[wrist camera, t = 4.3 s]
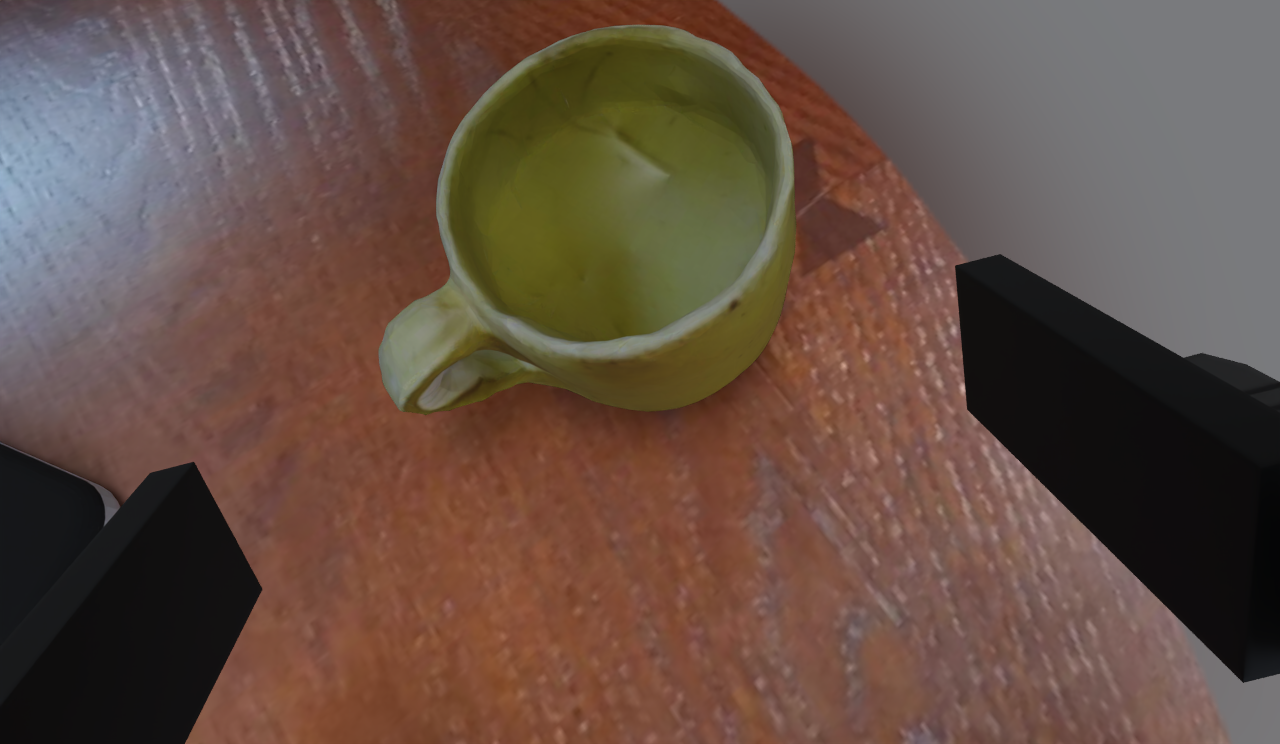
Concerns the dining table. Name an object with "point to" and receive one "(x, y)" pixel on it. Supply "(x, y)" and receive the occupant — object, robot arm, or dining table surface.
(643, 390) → the mug
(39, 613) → the robot arm
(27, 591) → the remote control
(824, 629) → the dining table surface
